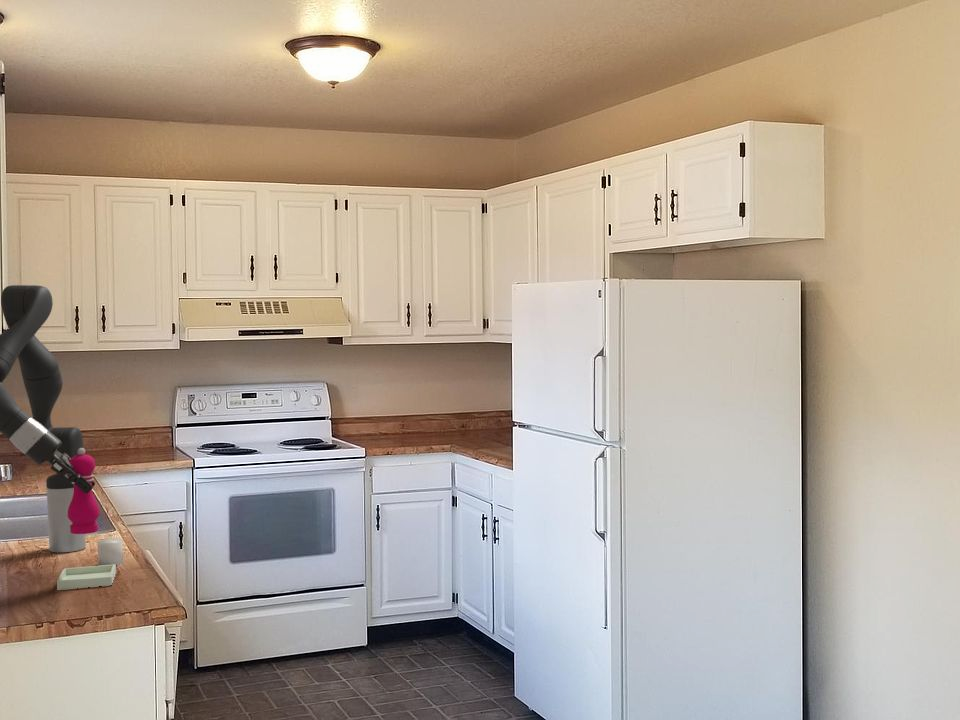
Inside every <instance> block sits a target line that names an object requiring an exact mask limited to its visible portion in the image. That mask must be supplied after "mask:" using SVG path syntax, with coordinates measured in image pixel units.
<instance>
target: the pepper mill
mask: <svg viewBox="0 0 960 720" xmlns="http://www.w3.org/2000/svg"><path fill="white" fill-rule="evenodd" d="M78 454H79V455H76V456H74V457H72V458H71V460H70V461H69V462H70V463H71V464H72V465H73V466H74V468H75V471H76V472H77V473H79V474H80V475H81V477H83V478H84V479H85V480H86V481H87V482H89V483H90V484H91V485H92V481H94V476H95V475H94V474H93V472H94V471H95V468H96V462H95V459H94V458H93V456H92V455H90V454H86V449H85V448H84V447H83V448H80V449H78ZM81 477H80V478H81ZM73 485H74V493H73V498H72V500H71V503H70V505H69V508H68V518H69V520H70V521H71V522H72V523H73V524H72V525H70V533H72V534H85V535H86V534H93V533H96V532H99V523H98V522H96V521H97V519H99V517H100V515H101V513H100V511H101V510H100V506H99V504H98V502H97V499H96V498H95V496H94V493H93V489H92V490H91V491H90V492H89V493H87V494H86V493H85V492H83V491H82V490H81V489H80V488H79V487H77V486H76V485H75V483H74V484H73Z"/></svg>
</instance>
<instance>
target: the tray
mask: <svg viewBox="0 0 960 720" xmlns="http://www.w3.org/2000/svg"><path fill="white" fill-rule="evenodd" d="M61 571H62V572H61V573H60V575H59V577H58V579H57V580H56V587H57V588H56V591H63V590H64V591H65V590H66V591H67V590H75V589H77V588H78V589H87V588H88V587H90V588H99V586H102V587H111V586H110V585H112V586H113V584H114V581H115V578H116V575H117V566H116V564H113V565H101V566H99V565H91V566H77V567H66V568H63V569H62V570H61ZM115 574H116V575H115ZM114 577H115V578H114ZM113 580H114V581H113ZM112 583H113V584H112ZM78 589H77V590H78ZM88 589H89V588H88Z"/></svg>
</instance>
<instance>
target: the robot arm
mask: <svg viewBox="0 0 960 720" xmlns="http://www.w3.org/2000/svg"><path fill="white" fill-rule="evenodd" d="M0 295H1V296H0V304H1V309H2V314H3V317H4V320H5V323H6V326H7V329H6V330H5V331H3V332H2V333H0V433H1V434H2V435H3V436H4V437H6V438H7V439H8V440H9V441H10V442H11V443H12V444H13V445H14V446H15V448H17V449H18V450H20V452H21V453H23V455H25V456H26V457H28V458H29V459H30V460H31V461H32V462H33V463H35V464H36V465H37V466H42V465H43V464H44V463H45V462H48V463H49V464H50V465H51V466H50V469H51V470H52V471H53V472H55V474H54V473H53V474H52V475H49V476H48V477H47V478H46V481H45V483H46V486H45V487H46V501H47V504H46V505H47V524H48V525H47V526H48V547H49V549H48V550H49V552H51V553H71V552H76V551H81V550H83V549H86V546H87V545H86V544H87V543H86V534H72V533H70V525H72V524H73V523H72V522H71V521H70V520H69V518H68V508H69V505H70V503H71V500H72V498H73V493H74V485H73V484H74V483H75V485H76V486H77V487H79V488H80V489H81V490H82V491H83V492H85V493H86V494H87V493H89V492H90V491H91V490H92V491H93V488H94V486H95V485H96V482H95V481H94V480H93V481H92V485H91V484H90V483H89V482H87V481H86V480H85V479H84V478H83V477H81V475H80V474H79V473H77V472H76V471H75V468H74V466H73V465H72V464H71V463H70V462H69V461H70V460H71V458H72V457H74V456H76V455H79V454H78V449H80V448H84V437H83V433H82V431H81V429H80V428H78V427H75V426H74V427H70V426H69V427H67V426H66V427H65V426H64V427H53V425H52V420H51V416H52V415H51V414H52V411H53V410H54V409H53V408H54V407H55V404H56V403H57V401H58V399H59V397H60V395H61V392H62V391H63V383H64V382H63V377H62V375H61V369H60V365H59V362H58V360H57V358H56V357H55V356H54V354H53V353H52V352H51V351H50V350H49V349H48V348H47V347H46V345H44V343H42V342H41V341H40V340H39V338H38V337H37V336H36V334H37V332H38V331H39V330H40V329H41V328H42V327H43V325H44V324H45V323H46V321H47V320H48V318H49V317H50V315H51V312H52V309H53V305H54V303H53V296H52V293H51V291H50V290H49V289H48V288H47V287H45V286H43V285H33V284H31V285H28V284H27V285H25V284H22V285H20V284H19V285H18V284H15V285H14V284H13V285H12V284H11V285H8V286H5V288H4V289H3V290H2V292H1V294H0ZM17 359H18V363H19V367H20V372H21V376H22V380H23V384H24V389H25V391H26V394H27V395H26V396H27V399H28V403H29V406H30V411H31V415H32V417H31V415H30V414H28V413H27V412H26V411H25V410H23V409H22V407H20V406H19V405H18V404H17V402H16V401H15V399H14V398H13V396H12V395H11V394H10V392H9V391H8V390H7V388H6V387H5V386H4V384H3V382H4V381H5V380H6V378H7V377H8V375H9V374H10V371H11V370H12V368H13V366H14V364H15V362H16V361H17ZM80 477H81V478H80Z"/></svg>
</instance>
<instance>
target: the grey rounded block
mask: <svg viewBox="0 0 960 720" xmlns="http://www.w3.org/2000/svg"><path fill="white" fill-rule="evenodd" d="M123 544H124V543H123V539H122V538H116V537H115V538H104V539H100V540H98V541H97V561H98V564H97V566H101V565H113V564H116V565H120V564H122V563H123V564H124V548H123V547H124V545H123ZM123 564H122V565H123ZM120 566H121V565H120Z"/></svg>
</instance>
